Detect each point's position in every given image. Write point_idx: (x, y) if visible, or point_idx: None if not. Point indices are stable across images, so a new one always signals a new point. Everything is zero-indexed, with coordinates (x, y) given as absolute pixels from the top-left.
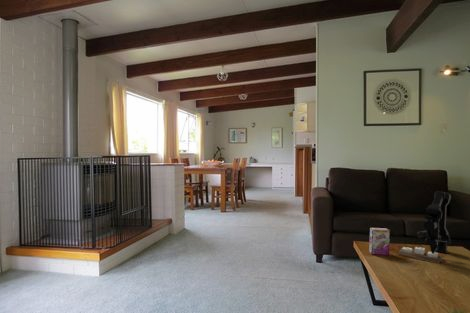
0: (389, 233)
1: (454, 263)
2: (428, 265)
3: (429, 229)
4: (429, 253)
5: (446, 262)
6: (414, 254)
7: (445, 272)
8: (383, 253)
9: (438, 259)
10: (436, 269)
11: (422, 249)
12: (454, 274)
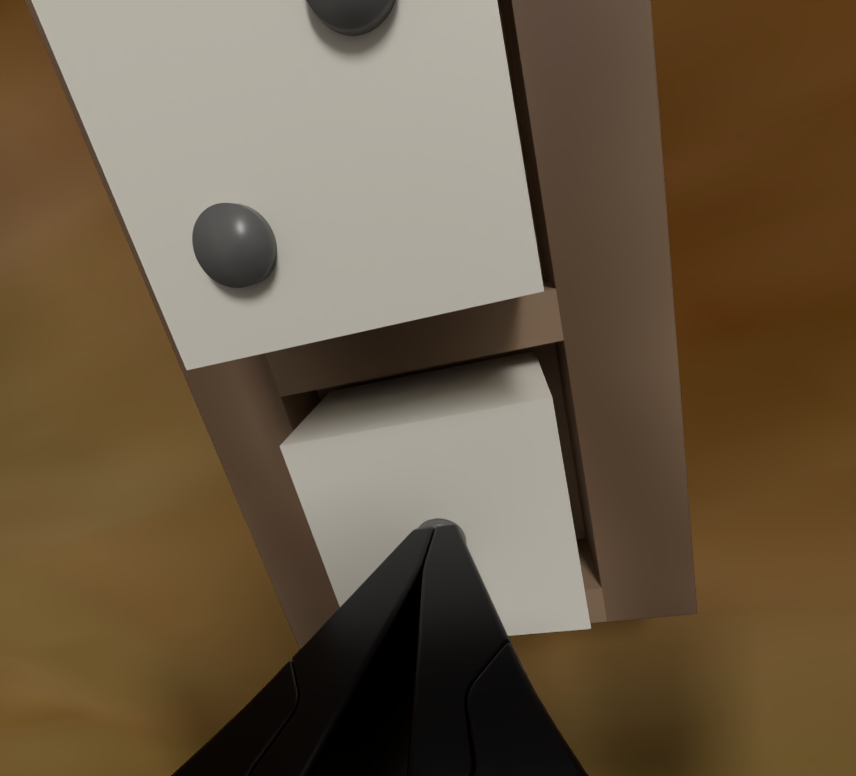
0: None
1: (561, 723)
2: (53, 501)
3: None
4: (325, 487)
5: None
6: (77, 116)
7: (38, 706)
8: None
9: (296, 630)
10: (19, 618)
11: (231, 296)
12: (83, 773)
